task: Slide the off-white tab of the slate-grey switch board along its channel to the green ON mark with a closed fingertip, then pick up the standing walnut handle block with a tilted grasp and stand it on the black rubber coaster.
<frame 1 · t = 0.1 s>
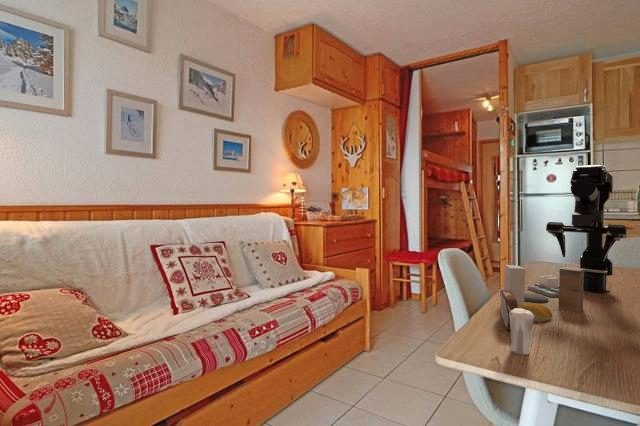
hand: (582, 258, 106), 15 cm above the table, tool pointing down, fingers open, 9 cm apart
switch tab: (548, 281, 131), point 3 cm above the table, slide at 0.0 cm
milkshake: (518, 353, 78), on the table
skincare box: (513, 306, 113), on the table
tin: (508, 325, 95), on the table
bread roll: (533, 318, 101), on the table
handle block: (570, 308, 110), on the table
switch board: (554, 292, 129), on the table
coaster: (532, 298, 120), on the table
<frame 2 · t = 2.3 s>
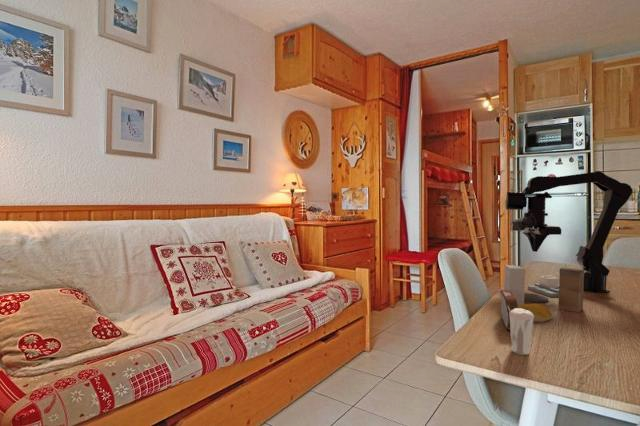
hand: (534, 251, 138), 13 cm above the table, tool pointing down, fingers closed
nothing on the table moved.
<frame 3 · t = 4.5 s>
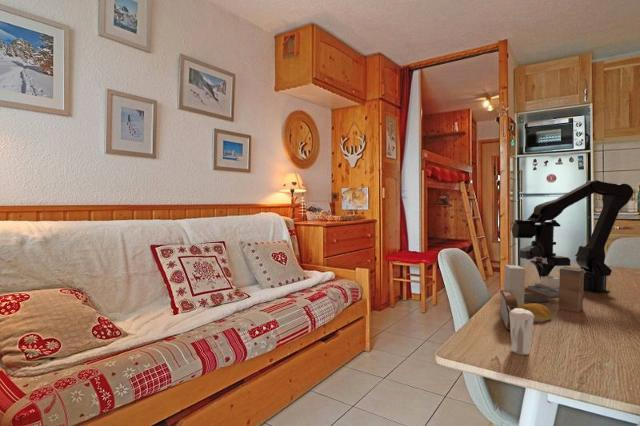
hand: (542, 281, 134), 3 cm above the table, tool pointing down, fingers closed
switch tab: (549, 281, 131), point 3 cm above the table, slide at 0.5 cm, touching gripper
everything else where it was.
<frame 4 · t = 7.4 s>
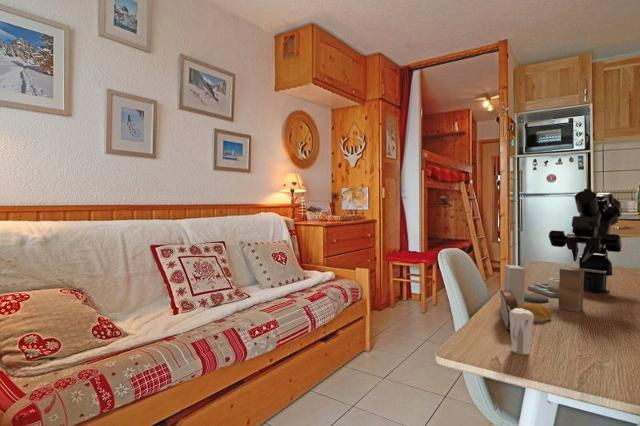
hand: (578, 260, 115), 13 cm above the table, tool tilted 45°, fingers closed
switch tab: (557, 283, 127), point 3 cm above the table, slide at 4.0 cm
everything else where it was.
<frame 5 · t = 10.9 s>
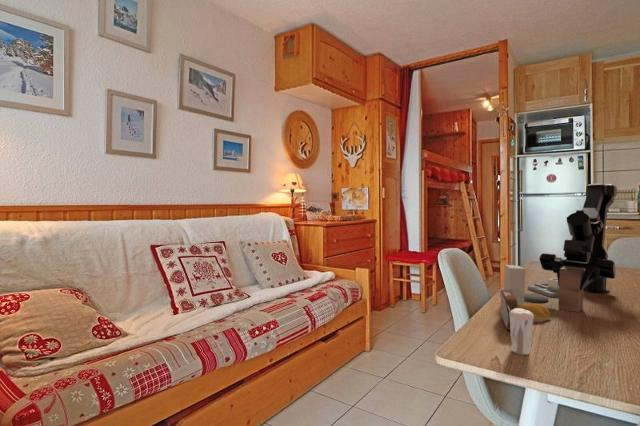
hand: (570, 287, 108), 7 cm above the table, tool tilted 45°, fingers closed on handle block, 5 cm apart
handle block: (570, 308, 110), on the table, touching gripper
everything else where it was.
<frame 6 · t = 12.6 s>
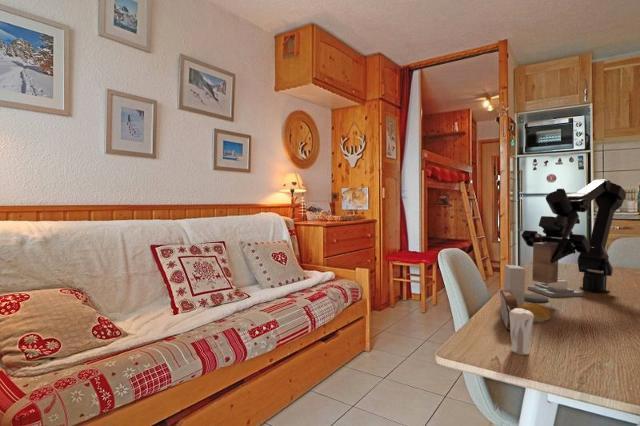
hand: (542, 260, 115), 13 cm above the table, tool tilted 45°, fingers closed on handle block, 5 cm apart
handle block: (544, 281, 116), point 7 cm above the table, touching gripper
everything else where it was.
when the fingers open (8 cm above the table, at t = 14.4 s): handle block stays where it is, resting on coaster.
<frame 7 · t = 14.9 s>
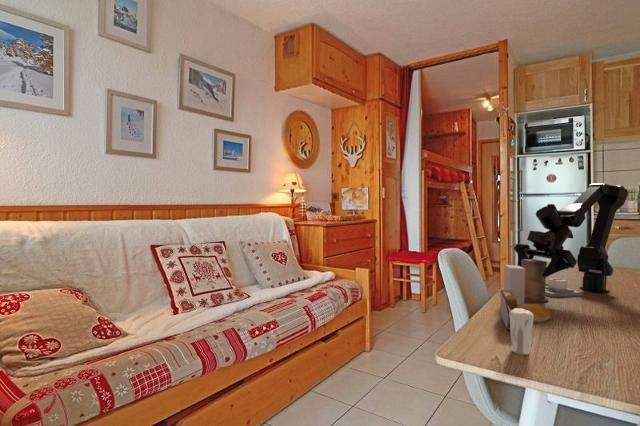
hand: (530, 273, 119), 8 cm above the table, tool tilted 45°, fingers open, 9 cm apart
handle block: (532, 297, 120), point 1 cm above the table, touching coaster
everything else where it was.
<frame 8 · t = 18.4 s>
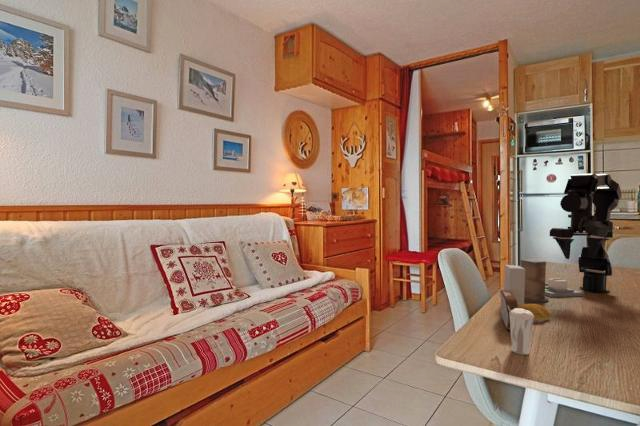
hand: (579, 258, 122), 13 cm above the table, tool pointing down, fingers open, 9 cm apart
nothing on the table moved.
at the end: handle block 0.0 cm from the coaster (horizontally); handle block tilted 0°; switch tab slide at 4.0 cm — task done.
